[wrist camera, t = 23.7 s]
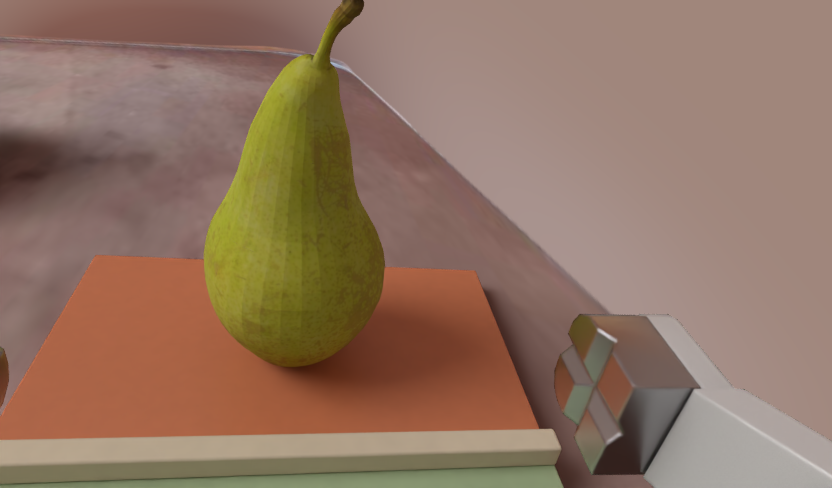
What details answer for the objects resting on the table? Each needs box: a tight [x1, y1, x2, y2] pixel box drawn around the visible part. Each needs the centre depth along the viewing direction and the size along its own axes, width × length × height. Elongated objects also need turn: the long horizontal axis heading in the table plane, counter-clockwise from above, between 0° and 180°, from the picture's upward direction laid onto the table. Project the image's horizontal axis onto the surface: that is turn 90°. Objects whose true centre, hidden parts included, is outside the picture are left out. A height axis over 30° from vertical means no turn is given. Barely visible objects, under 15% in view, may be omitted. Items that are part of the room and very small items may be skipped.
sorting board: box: [0, 255, 564, 488], centre depth 16 cm, size 16×20×2 cm
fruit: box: [204, 0, 385, 367], centre depth 17 cm, size 6×6×12 cm
